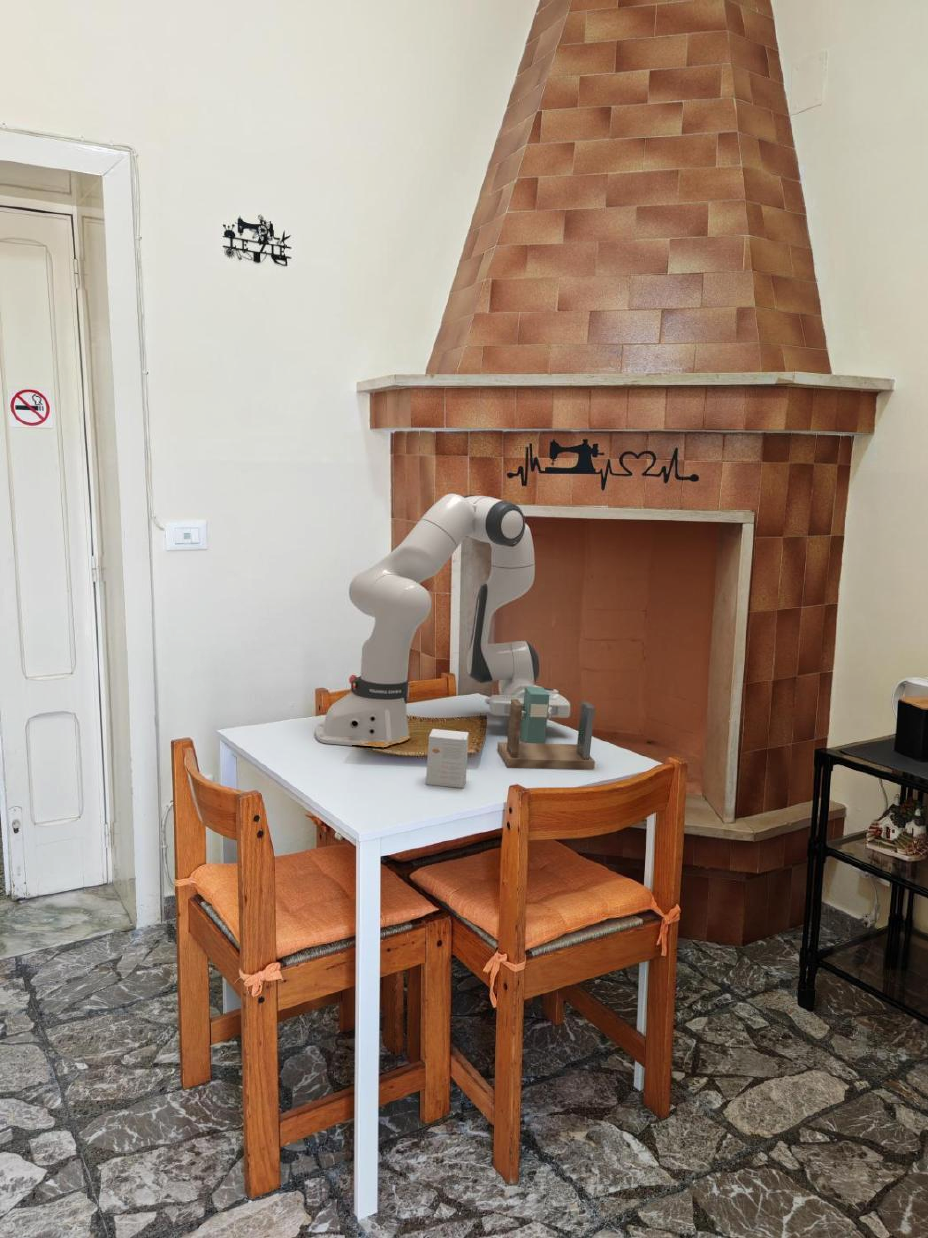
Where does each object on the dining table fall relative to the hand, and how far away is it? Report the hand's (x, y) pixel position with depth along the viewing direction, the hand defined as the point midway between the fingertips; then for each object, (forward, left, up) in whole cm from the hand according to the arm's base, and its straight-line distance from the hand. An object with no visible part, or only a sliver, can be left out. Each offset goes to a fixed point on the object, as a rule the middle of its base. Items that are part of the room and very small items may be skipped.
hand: (535, 715), depth 223 cm
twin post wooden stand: (0, -12, -7) cm, 14 cm away
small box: (-25, -28, -7) cm, 38 cm away
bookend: (+8, -14, -5) cm, 17 cm away
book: (0, +1, -7) cm, 7 cm away
